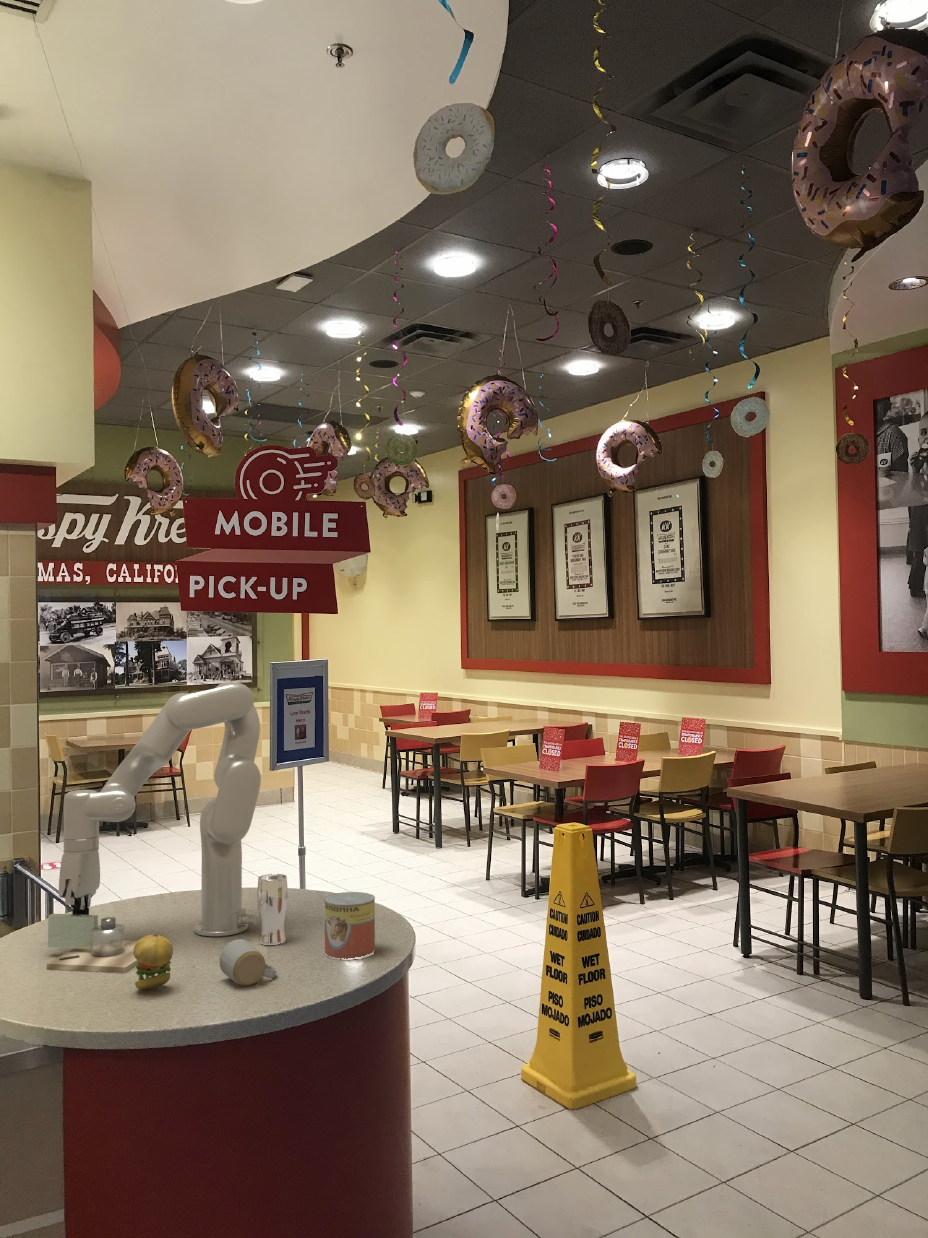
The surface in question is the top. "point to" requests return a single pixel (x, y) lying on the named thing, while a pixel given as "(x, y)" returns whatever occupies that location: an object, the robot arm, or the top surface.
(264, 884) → the beer glass
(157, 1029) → the top surface
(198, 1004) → the top surface
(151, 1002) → the top surface
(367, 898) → the canned food
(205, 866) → the robot arm
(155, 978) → the hamburger
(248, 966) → the ceramic mug
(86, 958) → the board
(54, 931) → the green panel with knob
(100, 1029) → the top surface
